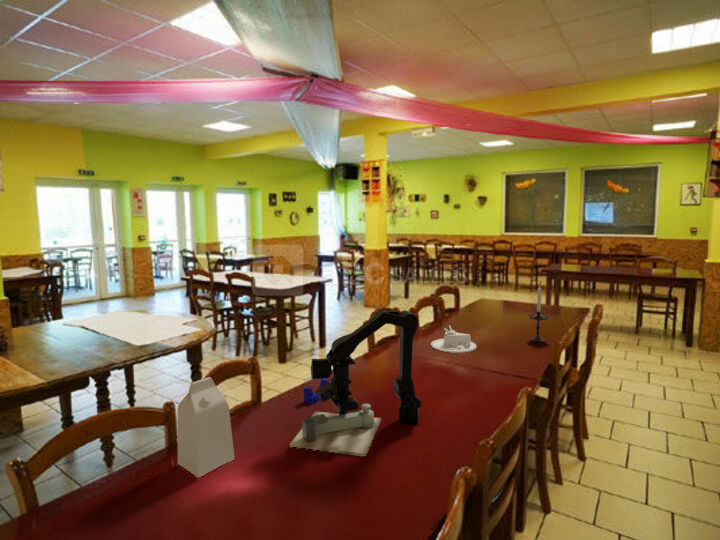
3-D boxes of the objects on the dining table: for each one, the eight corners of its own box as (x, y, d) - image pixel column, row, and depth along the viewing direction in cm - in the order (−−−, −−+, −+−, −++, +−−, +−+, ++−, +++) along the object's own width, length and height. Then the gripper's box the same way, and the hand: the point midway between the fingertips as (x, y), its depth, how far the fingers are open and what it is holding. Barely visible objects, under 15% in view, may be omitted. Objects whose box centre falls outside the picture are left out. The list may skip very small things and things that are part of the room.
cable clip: (312, 404, 171) (312, 390, 170) (304, 402, 173) (303, 387, 173) (331, 394, 181) (331, 380, 180) (323, 392, 183) (323, 378, 182)
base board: (380, 420, 156) (380, 417, 156) (365, 456, 133) (365, 453, 133) (315, 414, 163) (315, 410, 162) (289, 447, 139) (289, 443, 139)
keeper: (324, 432, 147) (323, 413, 146) (328, 437, 143) (327, 418, 142) (302, 437, 144) (302, 418, 143) (306, 442, 140) (306, 423, 139)
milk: (213, 448, 139) (208, 370, 136) (234, 461, 132) (230, 378, 129) (177, 465, 130) (171, 382, 127) (198, 479, 123) (192, 391, 120)
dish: (428, 351, 235) (428, 331, 234) (434, 339, 259) (434, 320, 257) (475, 355, 228) (475, 334, 227) (476, 342, 252) (477, 323, 250)
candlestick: (549, 339, 254) (551, 280, 249) (545, 344, 245) (548, 282, 240) (529, 336, 260) (531, 278, 255) (525, 341, 250) (527, 281, 246)
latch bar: (370, 419, 155) (370, 401, 154) (375, 425, 150) (375, 407, 149) (314, 428, 148) (313, 410, 147) (317, 436, 143) (317, 417, 142)
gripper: (311, 370, 155) (312, 411, 157) (325, 390, 138) (326, 436, 140) (341, 366, 159) (342, 406, 161) (358, 385, 142) (359, 430, 144)
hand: (341, 419), depth 151 cm, fingers closed
